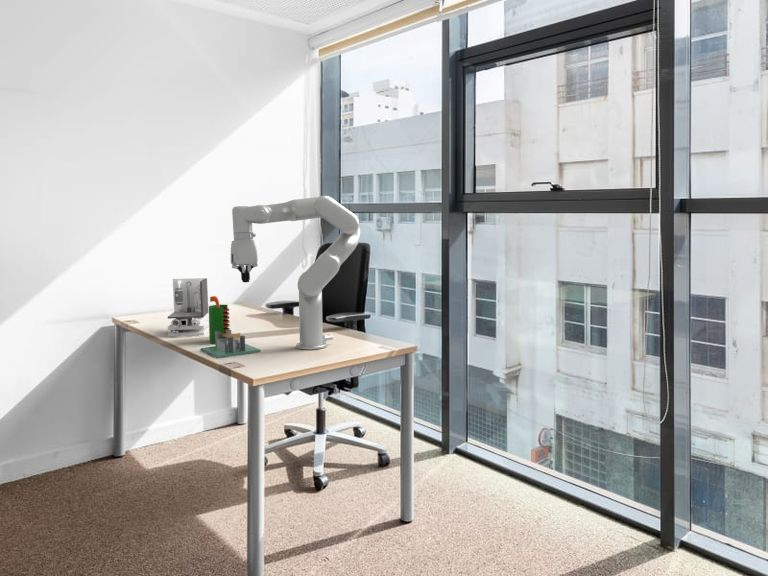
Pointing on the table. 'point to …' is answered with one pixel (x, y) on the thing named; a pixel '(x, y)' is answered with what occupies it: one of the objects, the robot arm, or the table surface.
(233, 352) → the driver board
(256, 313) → the table surface
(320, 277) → the robot arm
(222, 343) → the heat sink
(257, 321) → the table surface
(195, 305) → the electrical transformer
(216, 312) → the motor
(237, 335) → the strap
